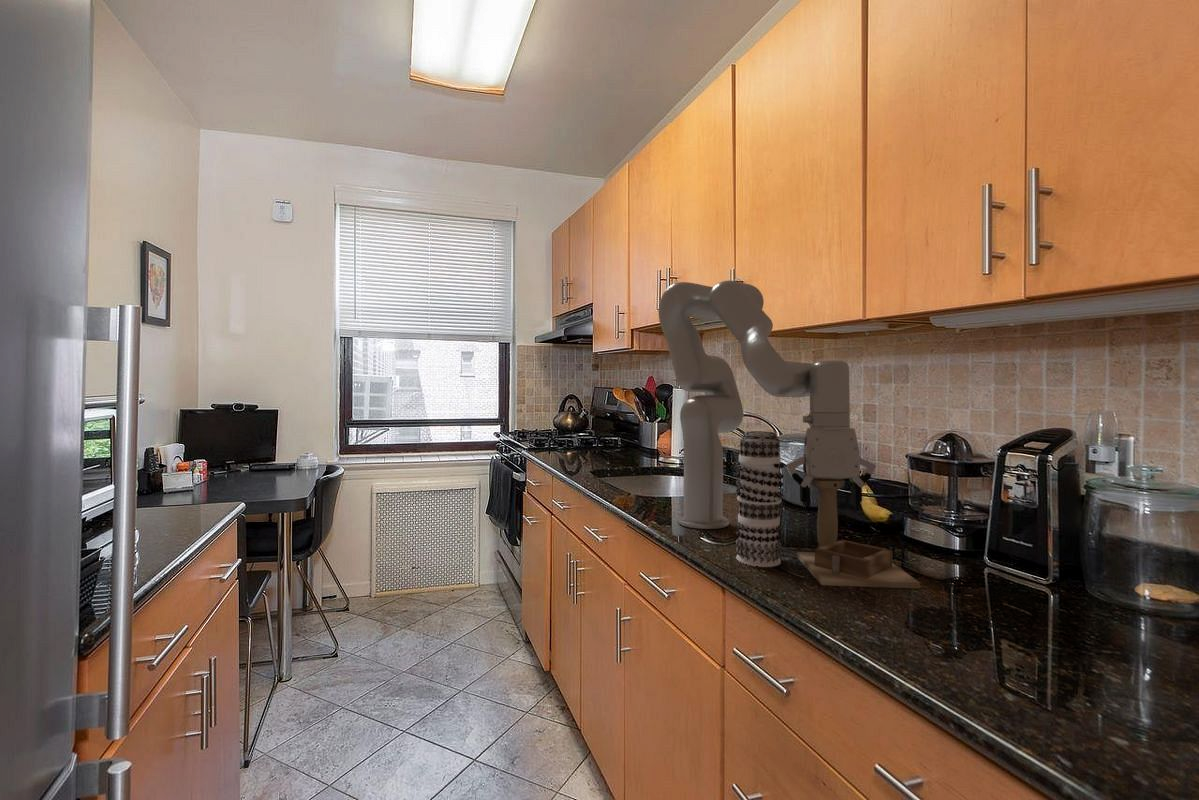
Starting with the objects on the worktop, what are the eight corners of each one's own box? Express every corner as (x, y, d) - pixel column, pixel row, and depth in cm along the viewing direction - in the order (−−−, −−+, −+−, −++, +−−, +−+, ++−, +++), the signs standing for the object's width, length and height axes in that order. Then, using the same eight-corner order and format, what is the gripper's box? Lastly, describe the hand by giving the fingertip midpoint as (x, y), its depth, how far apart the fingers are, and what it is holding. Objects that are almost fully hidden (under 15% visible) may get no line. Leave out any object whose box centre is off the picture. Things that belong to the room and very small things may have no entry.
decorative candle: (765, 551, 115) (767, 429, 115) (793, 565, 106) (794, 433, 106) (725, 555, 113) (726, 430, 112) (750, 569, 104) (751, 434, 103)
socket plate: (796, 557, 112) (797, 537, 111) (880, 559, 110) (881, 539, 110) (821, 585, 96) (821, 561, 96) (919, 588, 94) (920, 564, 94)
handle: (848, 554, 113) (849, 480, 113) (820, 556, 112) (821, 481, 112) (833, 548, 118) (834, 476, 118) (806, 550, 117) (807, 477, 116)
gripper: (790, 422, 111) (791, 509, 111) (881, 422, 110) (882, 509, 110) (781, 421, 119) (782, 502, 119) (866, 420, 117) (867, 502, 117)
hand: (830, 505), depth 114 cm, fingers open, 9 cm apart
